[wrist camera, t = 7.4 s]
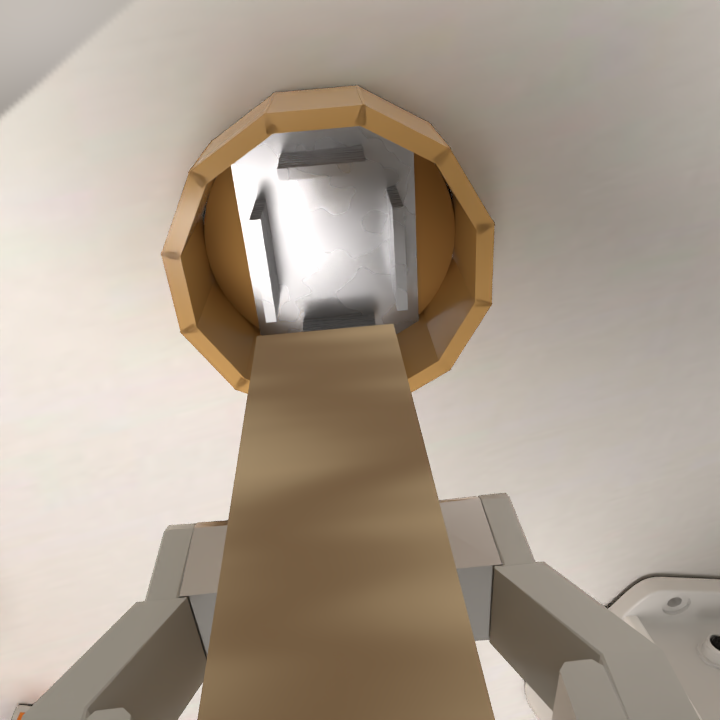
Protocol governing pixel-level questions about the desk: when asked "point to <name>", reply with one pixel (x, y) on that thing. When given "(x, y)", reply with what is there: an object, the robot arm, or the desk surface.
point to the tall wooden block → (337, 548)
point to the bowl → (229, 259)
